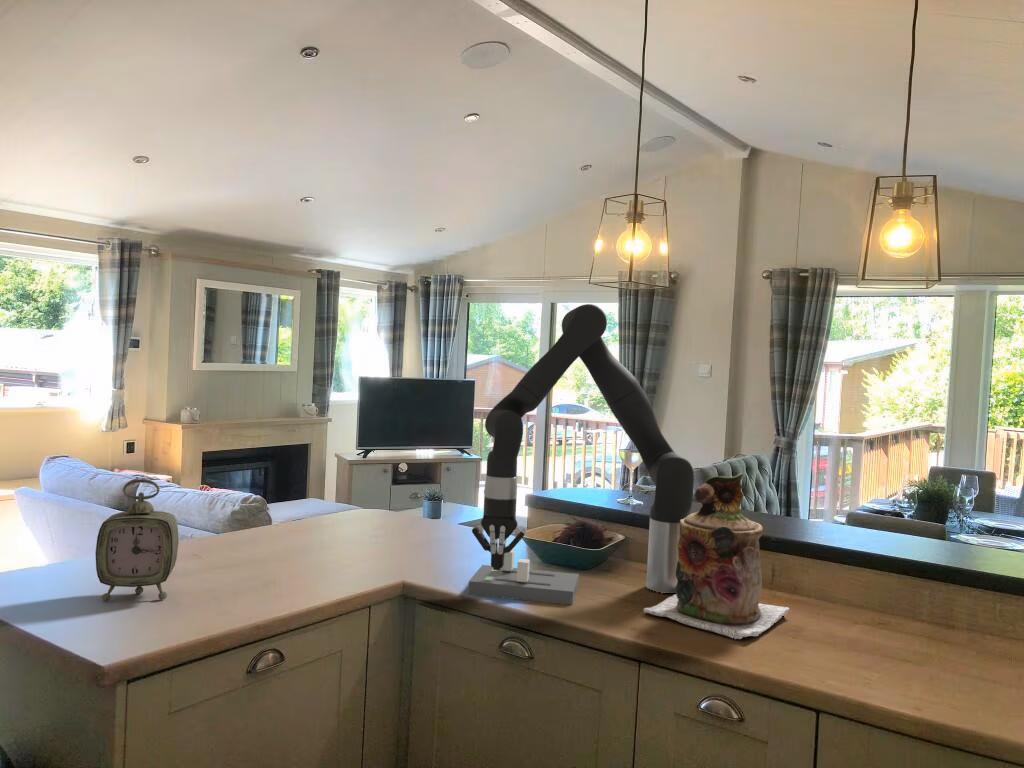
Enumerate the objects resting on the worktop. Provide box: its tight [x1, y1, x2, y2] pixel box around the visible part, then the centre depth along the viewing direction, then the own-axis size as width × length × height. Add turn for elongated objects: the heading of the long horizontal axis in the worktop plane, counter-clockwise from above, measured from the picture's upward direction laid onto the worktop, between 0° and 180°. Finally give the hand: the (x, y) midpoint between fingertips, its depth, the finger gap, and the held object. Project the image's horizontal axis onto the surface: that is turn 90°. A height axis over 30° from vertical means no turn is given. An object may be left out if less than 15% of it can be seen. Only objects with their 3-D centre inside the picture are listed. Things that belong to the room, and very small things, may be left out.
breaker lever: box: [502, 549, 515, 571], centre depth 181 cm, size 2×3×4 cm
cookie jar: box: [643, 473, 790, 640], centre depth 164 cm, size 25×25×32 cm
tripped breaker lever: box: [516, 558, 531, 582], centre depth 172 cm, size 2×3×4 cm
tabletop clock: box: [95, 478, 180, 602], centre depth 157 cm, size 14×9×25 cm, turn 105°
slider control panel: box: [467, 564, 580, 606], centre depth 176 cm, size 24×15×3 cm, turn 80°
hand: (496, 569), depth 173 cm, fingers closed
